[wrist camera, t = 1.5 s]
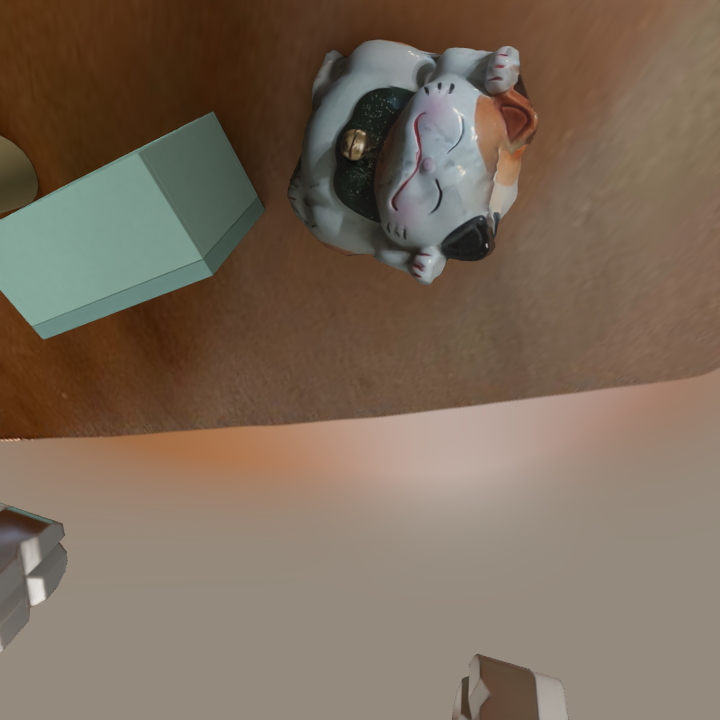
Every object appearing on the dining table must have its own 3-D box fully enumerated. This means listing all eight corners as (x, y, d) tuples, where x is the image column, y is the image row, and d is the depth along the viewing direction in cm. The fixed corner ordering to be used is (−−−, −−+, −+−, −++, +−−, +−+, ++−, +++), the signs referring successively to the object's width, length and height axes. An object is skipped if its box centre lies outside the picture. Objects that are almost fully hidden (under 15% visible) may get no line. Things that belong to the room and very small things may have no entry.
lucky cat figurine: (341, -6, 34) (449, -35, 23) (479, 82, 40) (618, 94, 29) (261, 216, 39) (318, 282, 28) (395, 265, 45) (486, 336, 34)
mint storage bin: (65, 185, 44) (-42, 241, 35) (213, 111, 39) (137, 152, 30) (124, 268, 48) (43, 340, 39) (265, 210, 43) (213, 275, 34)
